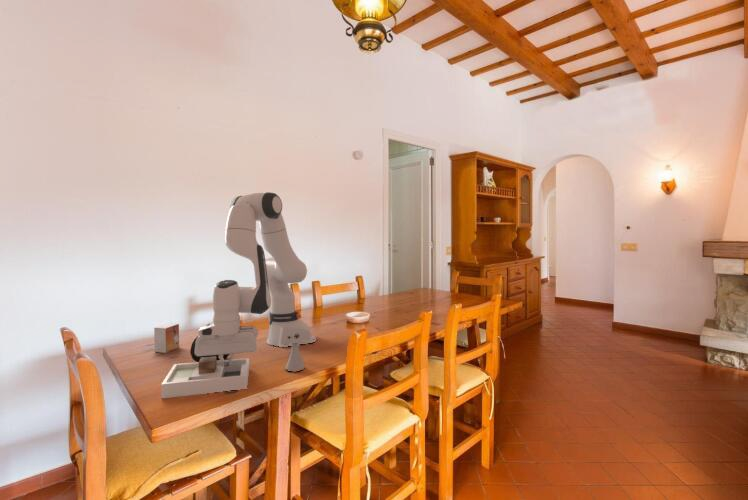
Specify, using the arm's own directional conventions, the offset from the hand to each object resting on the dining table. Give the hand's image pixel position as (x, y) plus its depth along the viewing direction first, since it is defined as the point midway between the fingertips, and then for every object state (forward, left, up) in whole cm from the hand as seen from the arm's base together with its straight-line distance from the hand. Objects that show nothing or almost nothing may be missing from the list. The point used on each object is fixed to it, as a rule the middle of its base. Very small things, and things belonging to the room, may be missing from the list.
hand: (226, 365), depth 128 cm
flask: (-24, -2, -4) cm, 24 cm away
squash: (+7, -17, -4) cm, 19 cm away
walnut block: (+6, 0, -1) cm, 6 cm away
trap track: (+5, +3, -4) cm, 7 cm away
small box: (+27, -37, -4) cm, 46 cm away
